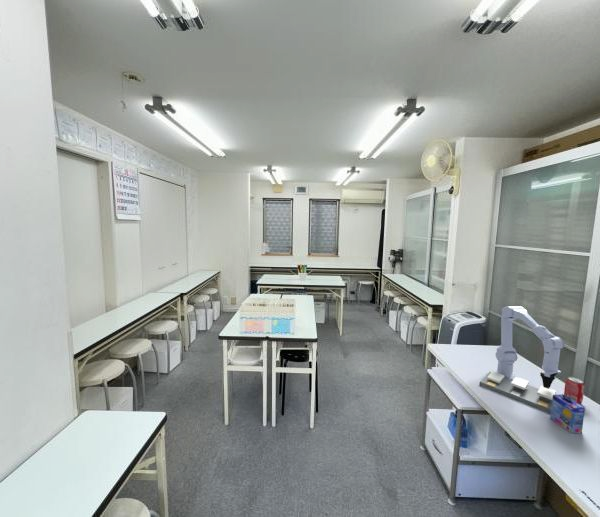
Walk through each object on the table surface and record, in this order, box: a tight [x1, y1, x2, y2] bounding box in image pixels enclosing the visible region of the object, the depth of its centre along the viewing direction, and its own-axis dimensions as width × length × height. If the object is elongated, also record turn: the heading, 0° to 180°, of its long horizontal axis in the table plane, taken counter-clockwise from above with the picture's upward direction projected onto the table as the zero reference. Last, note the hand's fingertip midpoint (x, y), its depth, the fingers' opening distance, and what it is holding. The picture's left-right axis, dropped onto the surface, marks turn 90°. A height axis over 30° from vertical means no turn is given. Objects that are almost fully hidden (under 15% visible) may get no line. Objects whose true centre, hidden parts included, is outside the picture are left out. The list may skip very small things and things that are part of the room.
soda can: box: [563, 376, 586, 405], centre depth 142 cm, size 7×7×12 cm
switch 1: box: [487, 371, 505, 384], centre depth 158 cm, size 10×6×1 cm, turn 130°
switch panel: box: [479, 371, 552, 414], centre depth 149 cm, size 18×32×2 cm, turn 40°
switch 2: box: [511, 376, 530, 390], centre depth 150 cm, size 10×6×1 cm, turn 130°
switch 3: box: [537, 385, 557, 400], centre depth 141 cm, size 10×6×1 cm, turn 130°
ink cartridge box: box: [549, 393, 586, 434], centre depth 124 cm, size 10×6×14 cm, turn 5°
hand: (547, 385), depth 141 cm, fingers open, 7 cm apart
